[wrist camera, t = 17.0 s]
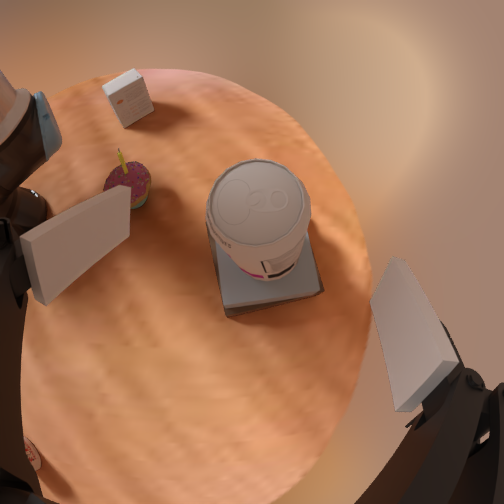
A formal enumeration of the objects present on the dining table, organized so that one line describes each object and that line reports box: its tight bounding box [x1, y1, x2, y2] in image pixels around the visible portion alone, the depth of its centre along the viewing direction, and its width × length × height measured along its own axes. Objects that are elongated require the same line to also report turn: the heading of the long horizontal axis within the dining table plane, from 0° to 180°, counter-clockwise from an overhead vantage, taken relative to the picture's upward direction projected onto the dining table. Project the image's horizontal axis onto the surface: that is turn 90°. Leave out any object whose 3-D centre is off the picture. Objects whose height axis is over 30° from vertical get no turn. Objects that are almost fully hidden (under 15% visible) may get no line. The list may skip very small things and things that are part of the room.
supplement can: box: [206, 158, 311, 281], centre depth 27 cm, size 8×8×15 cm
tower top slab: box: [215, 232, 320, 309], centre depth 36 cm, size 12×12×4 cm
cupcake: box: [103, 148, 151, 209], centre depth 39 cm, size 9×8×12 cm
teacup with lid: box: [24, 437, 41, 471], centre depth 22 cm, size 12×9×12 cm
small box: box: [102, 68, 154, 128], centre depth 46 cm, size 8×6×10 cm
